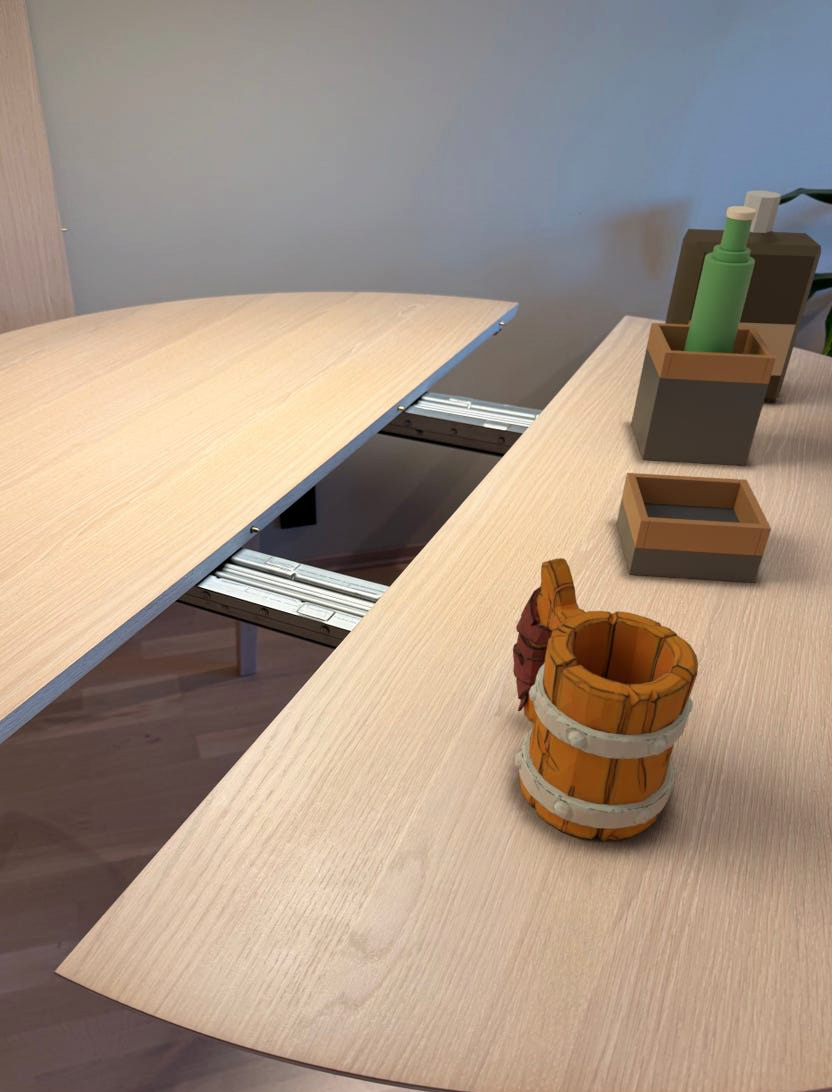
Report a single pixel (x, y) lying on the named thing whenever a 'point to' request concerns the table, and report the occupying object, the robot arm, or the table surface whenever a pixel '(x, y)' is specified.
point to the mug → (598, 711)
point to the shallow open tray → (691, 527)
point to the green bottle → (723, 287)
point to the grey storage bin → (700, 398)
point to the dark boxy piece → (756, 281)
